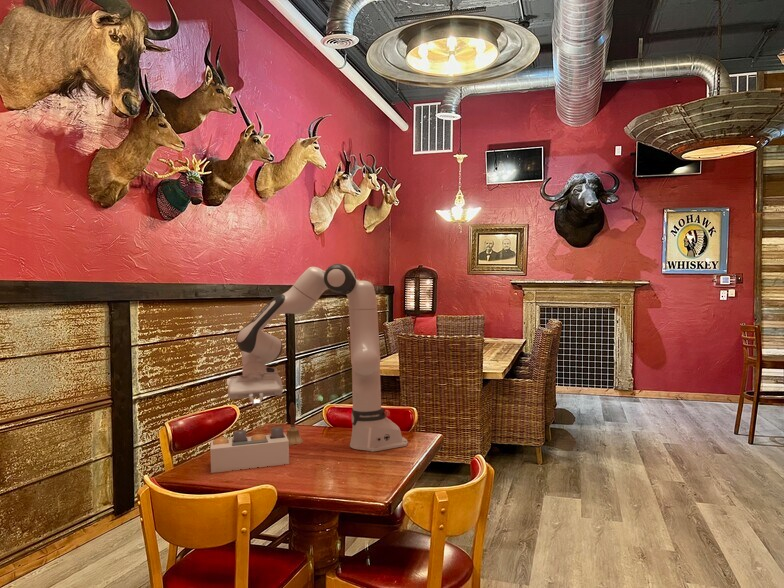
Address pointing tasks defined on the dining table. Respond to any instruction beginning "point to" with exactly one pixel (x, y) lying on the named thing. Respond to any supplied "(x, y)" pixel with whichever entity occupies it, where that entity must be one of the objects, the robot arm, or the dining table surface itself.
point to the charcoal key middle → (239, 436)
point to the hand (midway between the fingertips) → (256, 405)
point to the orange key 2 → (258, 437)
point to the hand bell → (293, 428)
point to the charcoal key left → (276, 432)
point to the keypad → (249, 453)
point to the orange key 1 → (220, 441)
